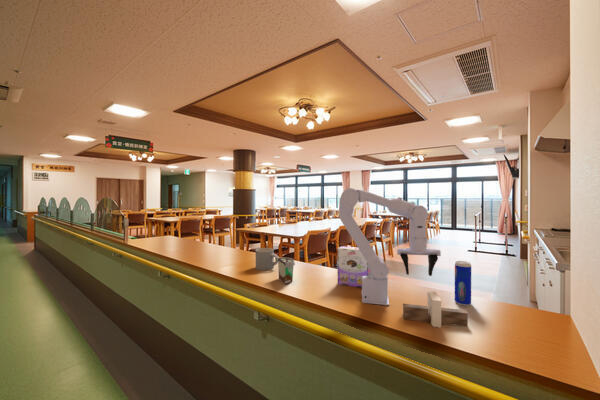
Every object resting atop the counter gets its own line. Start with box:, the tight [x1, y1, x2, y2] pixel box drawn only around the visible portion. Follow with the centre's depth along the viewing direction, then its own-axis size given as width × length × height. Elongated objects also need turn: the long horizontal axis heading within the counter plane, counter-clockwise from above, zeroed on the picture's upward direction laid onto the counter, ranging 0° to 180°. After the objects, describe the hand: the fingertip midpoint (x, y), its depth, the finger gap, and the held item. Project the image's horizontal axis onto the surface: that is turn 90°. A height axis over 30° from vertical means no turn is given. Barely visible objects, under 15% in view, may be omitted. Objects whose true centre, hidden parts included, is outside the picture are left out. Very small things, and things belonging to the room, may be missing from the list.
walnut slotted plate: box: [402, 303, 469, 327], centre depth 83 cm, size 18×2×4 cm, turn 74°
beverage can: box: [454, 260, 472, 307], centre depth 96 cm, size 5×5×15 cm
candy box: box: [336, 245, 370, 289], centre depth 117 cm, size 14×6×16 cm, turn 63°
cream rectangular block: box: [427, 290, 442, 328], centre depth 83 cm, size 8×2×8 cm, turn 164°
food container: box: [277, 256, 296, 285], centre depth 123 cm, size 12×6×10 cm, turn 22°
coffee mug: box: [255, 247, 279, 271], centre depth 144 cm, size 13×10×10 cm
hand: (418, 274), depth 97 cm, fingers open, 7 cm apart
